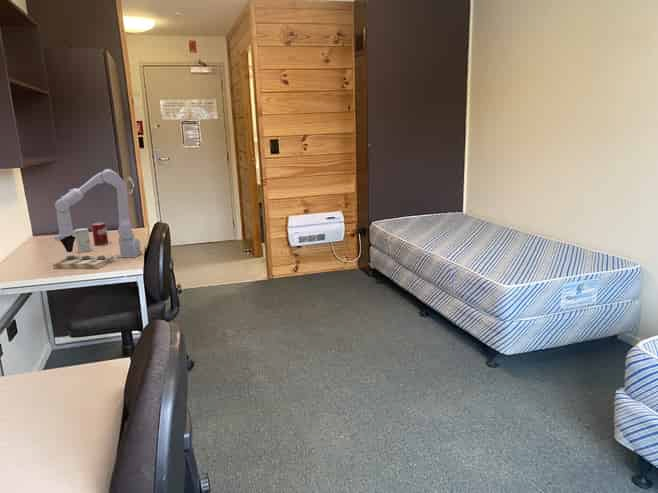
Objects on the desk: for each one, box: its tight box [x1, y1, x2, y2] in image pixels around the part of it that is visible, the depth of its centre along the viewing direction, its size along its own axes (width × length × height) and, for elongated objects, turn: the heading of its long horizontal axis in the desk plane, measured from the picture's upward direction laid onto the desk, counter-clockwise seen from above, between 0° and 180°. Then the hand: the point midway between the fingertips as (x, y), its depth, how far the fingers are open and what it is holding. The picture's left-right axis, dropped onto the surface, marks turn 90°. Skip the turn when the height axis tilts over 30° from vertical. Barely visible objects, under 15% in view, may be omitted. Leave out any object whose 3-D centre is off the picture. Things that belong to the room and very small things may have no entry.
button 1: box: [66, 255, 75, 260], centre depth 234 cm, size 3×3×2 cm
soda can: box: [91, 222, 109, 247], centre depth 271 cm, size 7×7×12 cm
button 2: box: [97, 255, 106, 260], centre depth 232 cm, size 3×3×2 cm
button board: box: [52, 255, 115, 270], centre depth 231 cm, size 23×13×3 cm, turn 81°
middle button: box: [82, 255, 90, 260], centre depth 233 cm, size 3×3×2 cm
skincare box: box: [74, 227, 92, 254], centre depth 257 cm, size 6×4×12 cm
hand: (69, 251), depth 233 cm, fingers closed
